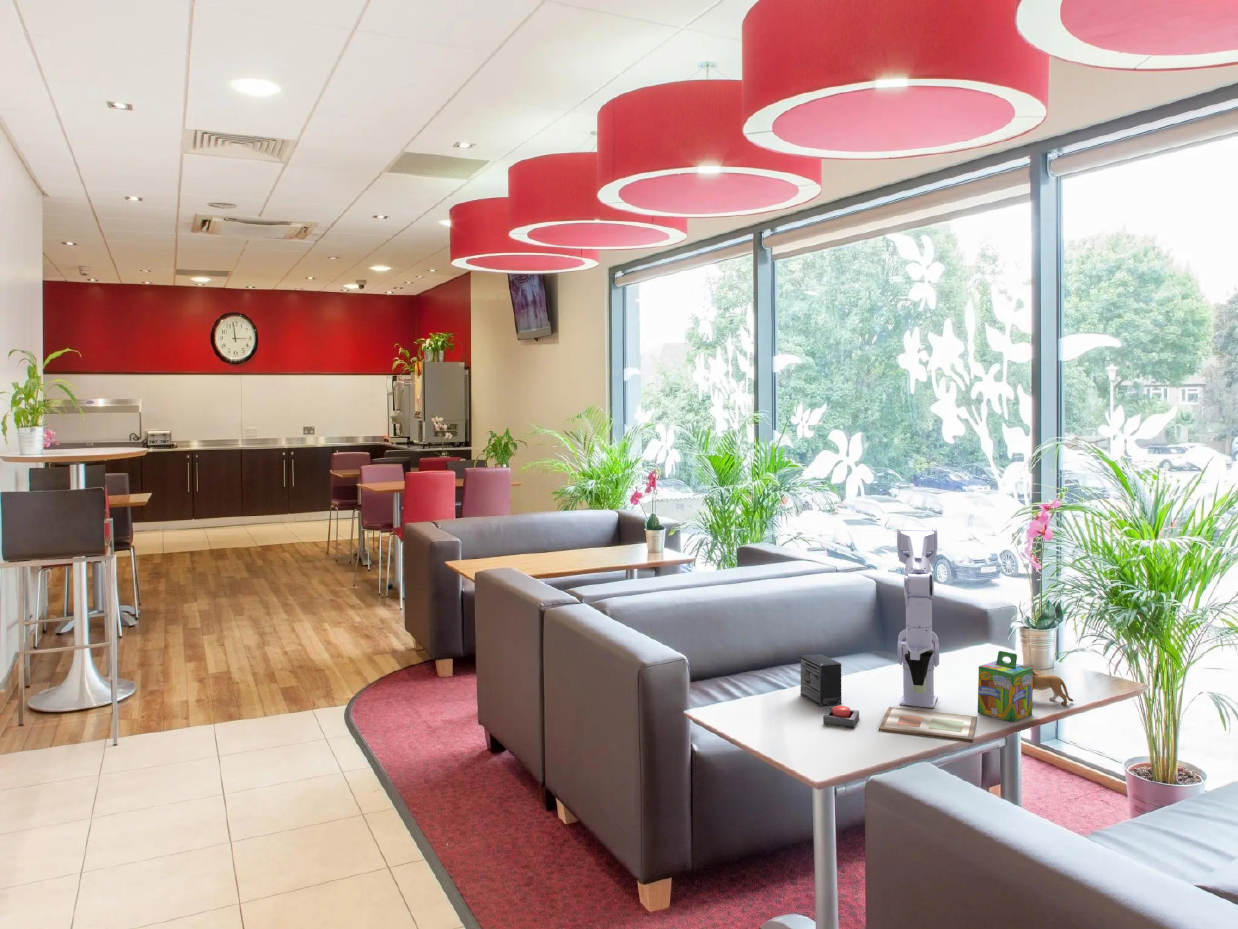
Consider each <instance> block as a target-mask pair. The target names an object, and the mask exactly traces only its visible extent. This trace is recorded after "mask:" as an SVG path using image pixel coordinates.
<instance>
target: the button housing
mask: <svg viewBox="0 0 1238 929" xmlns="http://www.w3.org/2000/svg"><path fill="white" fill-rule="evenodd" d="M822 720H823V722H822V724H823V726H829V727H830V726H832V727H838V728H839V727H840V728H848V729H855V727H856V726H857V724H858V722H859V721H860V710H857V709H850V717H849V718H845V717H836V716H833V707H828V709H827V710H826V712H825V713H824V715H823V718H822Z"/></svg>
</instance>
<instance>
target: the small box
mask: <svg viewBox="0 0 1238 929" xmlns="http://www.w3.org/2000/svg"><path fill="white" fill-rule="evenodd" d="M799 659H800V661H799V662H800V693H799V694H800V696H801V697H803V698H805V699H807V700H808V701H809V702H812V703H814V704H815V705H816V706H819V707H826V706H834V705H835V706H837V705H841V704H842V663H841V662H839V661H837V660H835V659H832V658H831V657H829V656H826V655H823V654H822V653H817V654H805V655H803V654H802V655H800V657H799Z"/></svg>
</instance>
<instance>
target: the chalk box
mask: <svg viewBox="0 0 1238 929" xmlns="http://www.w3.org/2000/svg"><path fill="white" fill-rule="evenodd" d="M1005 657H1007V658H1009V659H1010V661H1004V660H1003V659H1004V658H1005ZM1017 661H1018V655H1017V654H1016V653H1013V652H1007V651H1004V650H1003V651H1002V650H999V651H998V654H997V657H996V660H995V661H992V662H988V663H985V664H982V665H979V666H978V682H977V684H978V685H977V686H978V688H977V713H978V714H983V715H985V716H989V717H993V718H996V719H999V720H1002V721H1006V722H1008V723H1009V722H1010V723H1014V722H1016V721H1017V722H1018V721H1019V720H1021V719H1022V720H1023V719H1024V718H1026V717H1027V718H1028V717H1029V716H1032V714H1033V691H1034V689H1033V672H1034V668H1032V667H1031V666H1027V665H1023V664H1018V663H1017Z"/></svg>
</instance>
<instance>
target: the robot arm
mask: <svg viewBox="0 0 1238 929" xmlns="http://www.w3.org/2000/svg"><path fill="white" fill-rule="evenodd" d="M896 549H897V557H898V562H900V563H902V564H904V565H905V575H904V576H903V595H904V602H905V628H904V629H902V631H900V632H899V634H898V636H897V637H898V638H897V663H898V664H899V665H900V666H902V675H903V678H902V679H903V682H902V683H903V684H902V685H903V691H902V692H903V695H902V698H901V699H900V701H899V705H902V706H911V707H912V706H913V707H920V708H929V709H934V708H935V705H936V703H937V699H938V695H937V694H935V691H934V689H935V687H934V682H935V680H934V678H935V677H934V675H935V674H934V673H935V672H934V671H935V668H937V667H938V666H939V665H940V643H939V637H938V635H937V633H935V632H934V631H933V612H932V611H933V603H932V601H933V598H934V594H935V587H934V586H935V584H934V583H935V581H934V580H935V579H934V576H933V573H932V570H931V568H932V566H931V564H933V563H935V562H936V559H937V556H938V555H937V554H938V553H937V552H938V529H937V528H936V527H901V526H899V527H898V528H896ZM924 680H925V693H914V692H913V684H914V685H919V686H923V684H924Z"/></svg>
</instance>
